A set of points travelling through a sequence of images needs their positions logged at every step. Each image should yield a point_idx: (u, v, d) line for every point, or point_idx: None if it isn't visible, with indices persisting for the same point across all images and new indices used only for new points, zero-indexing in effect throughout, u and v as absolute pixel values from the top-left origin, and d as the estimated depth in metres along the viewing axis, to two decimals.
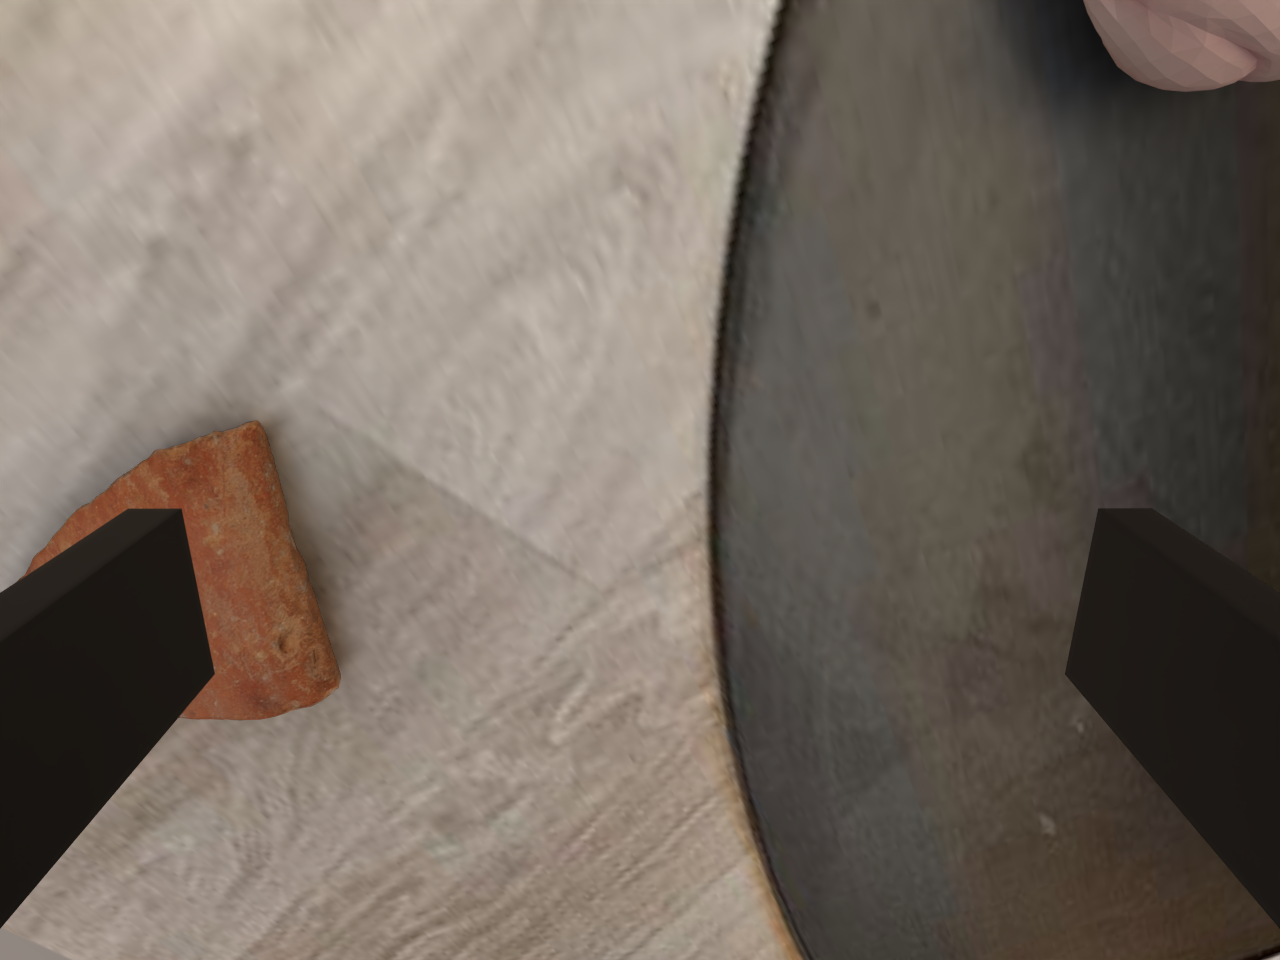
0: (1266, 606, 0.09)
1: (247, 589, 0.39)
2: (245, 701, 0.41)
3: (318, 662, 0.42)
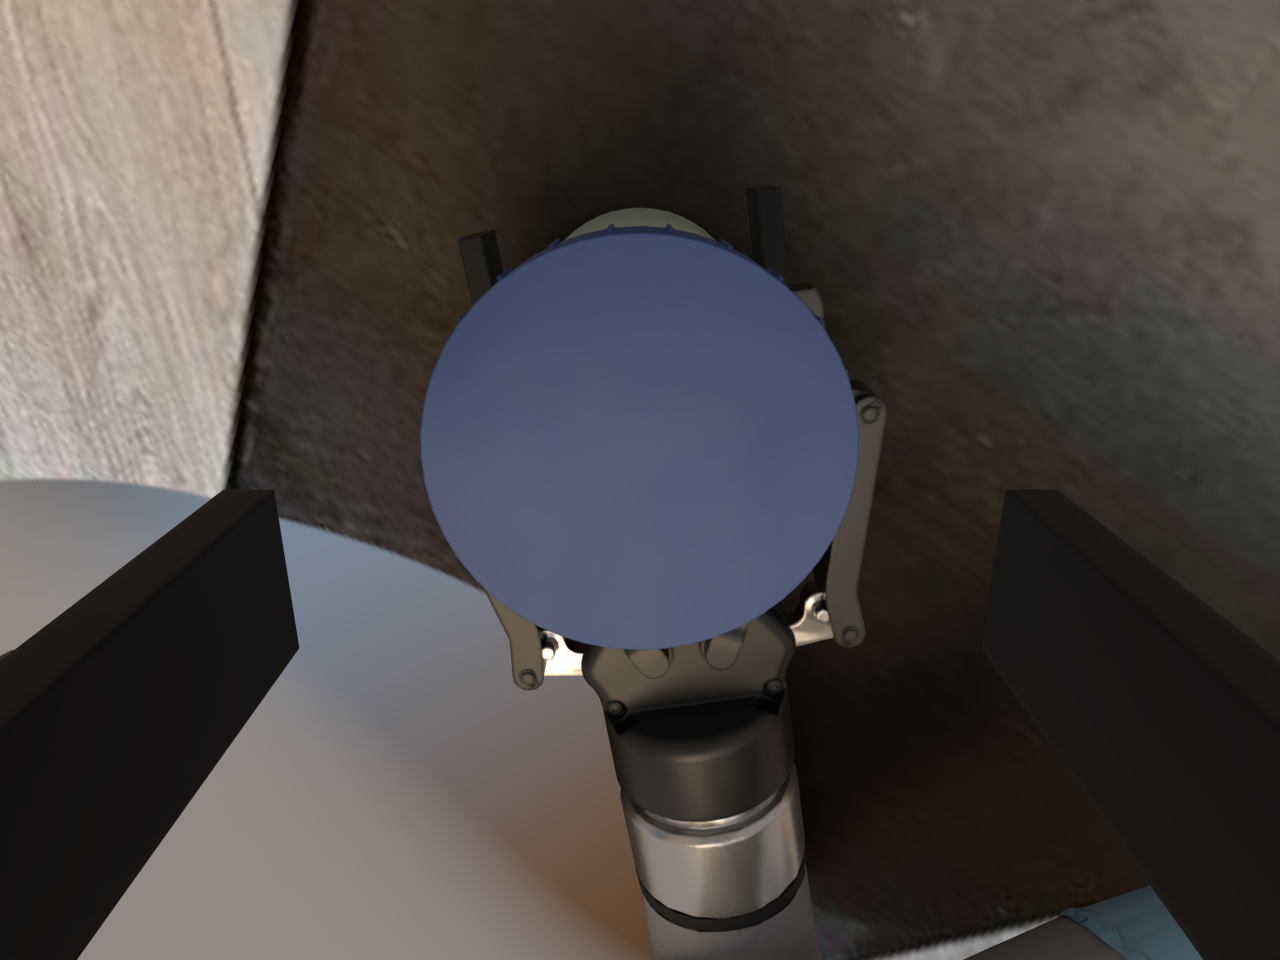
0: (1137, 575, 0.10)
1: None
2: None
3: None
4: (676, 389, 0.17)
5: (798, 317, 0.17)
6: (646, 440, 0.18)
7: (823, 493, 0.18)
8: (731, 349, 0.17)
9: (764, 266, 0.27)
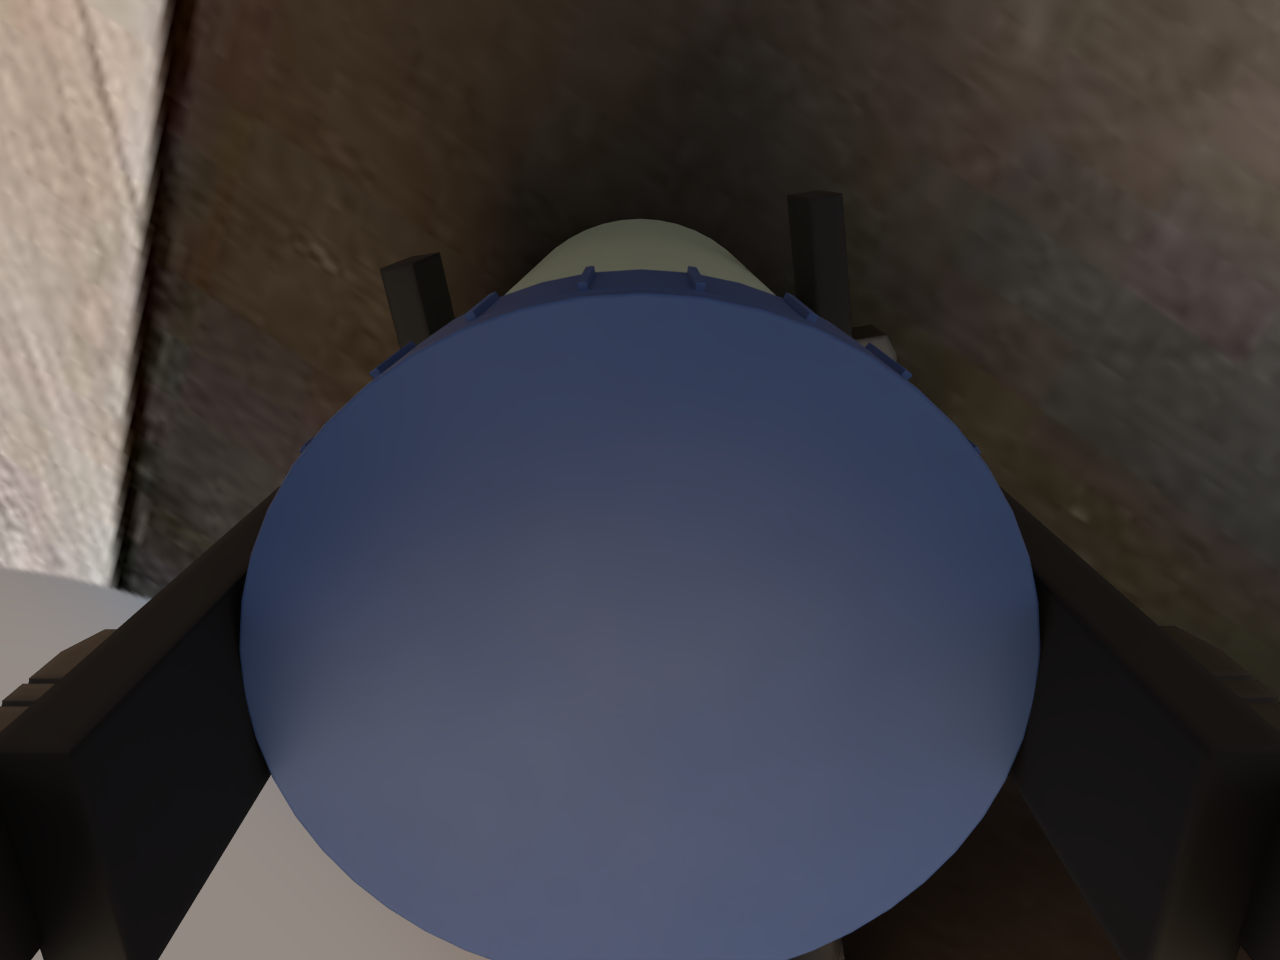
0: (1051, 558, 0.10)
1: None
2: None
3: None
4: (708, 577, 0.09)
5: (943, 451, 0.09)
6: (652, 662, 0.10)
7: (969, 749, 0.10)
8: (813, 507, 0.09)
9: (817, 306, 0.19)
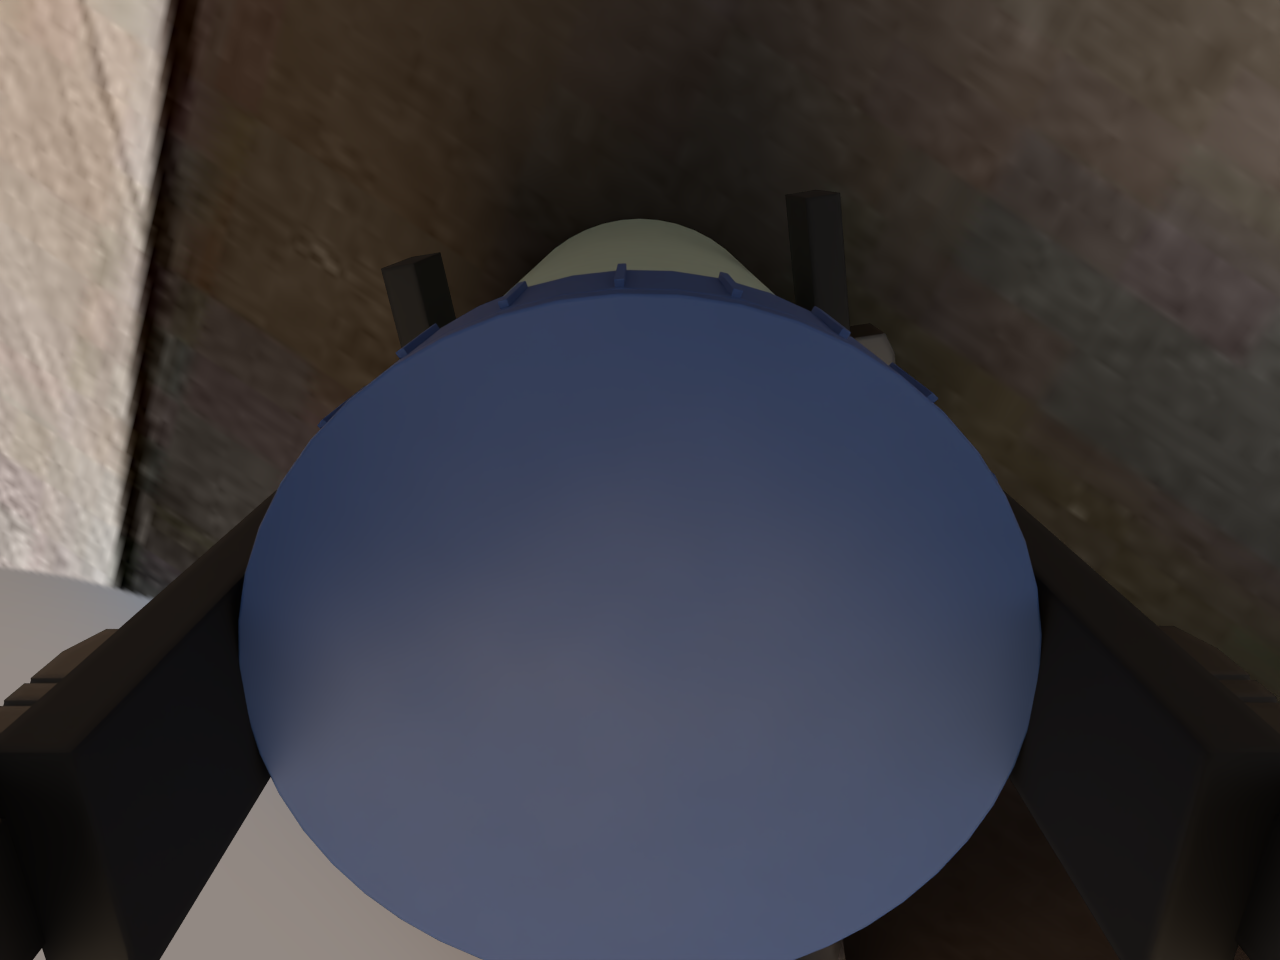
0: (1050, 558, 0.10)
1: None
2: None
3: None
4: (498, 727, 0.10)
5: (260, 662, 0.10)
6: (603, 709, 0.10)
7: (446, 406, 0.09)
8: (382, 705, 0.10)
9: (815, 305, 0.19)
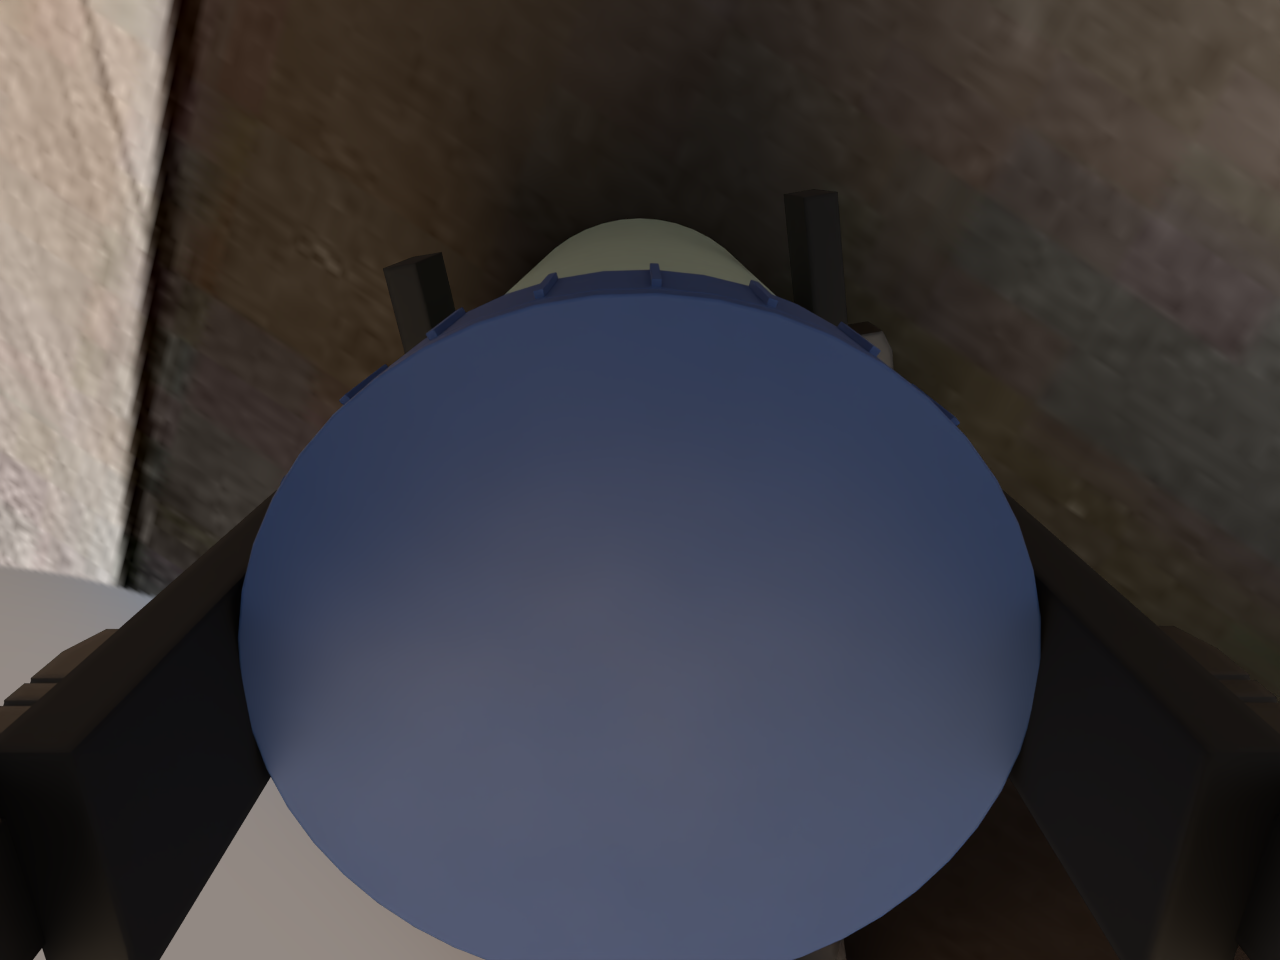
0: (1050, 558, 0.10)
1: None
2: None
3: None
4: (755, 767, 0.10)
5: (826, 931, 0.11)
6: (674, 711, 0.10)
7: (534, 940, 0.11)
8: (801, 847, 0.11)
9: (813, 303, 0.19)
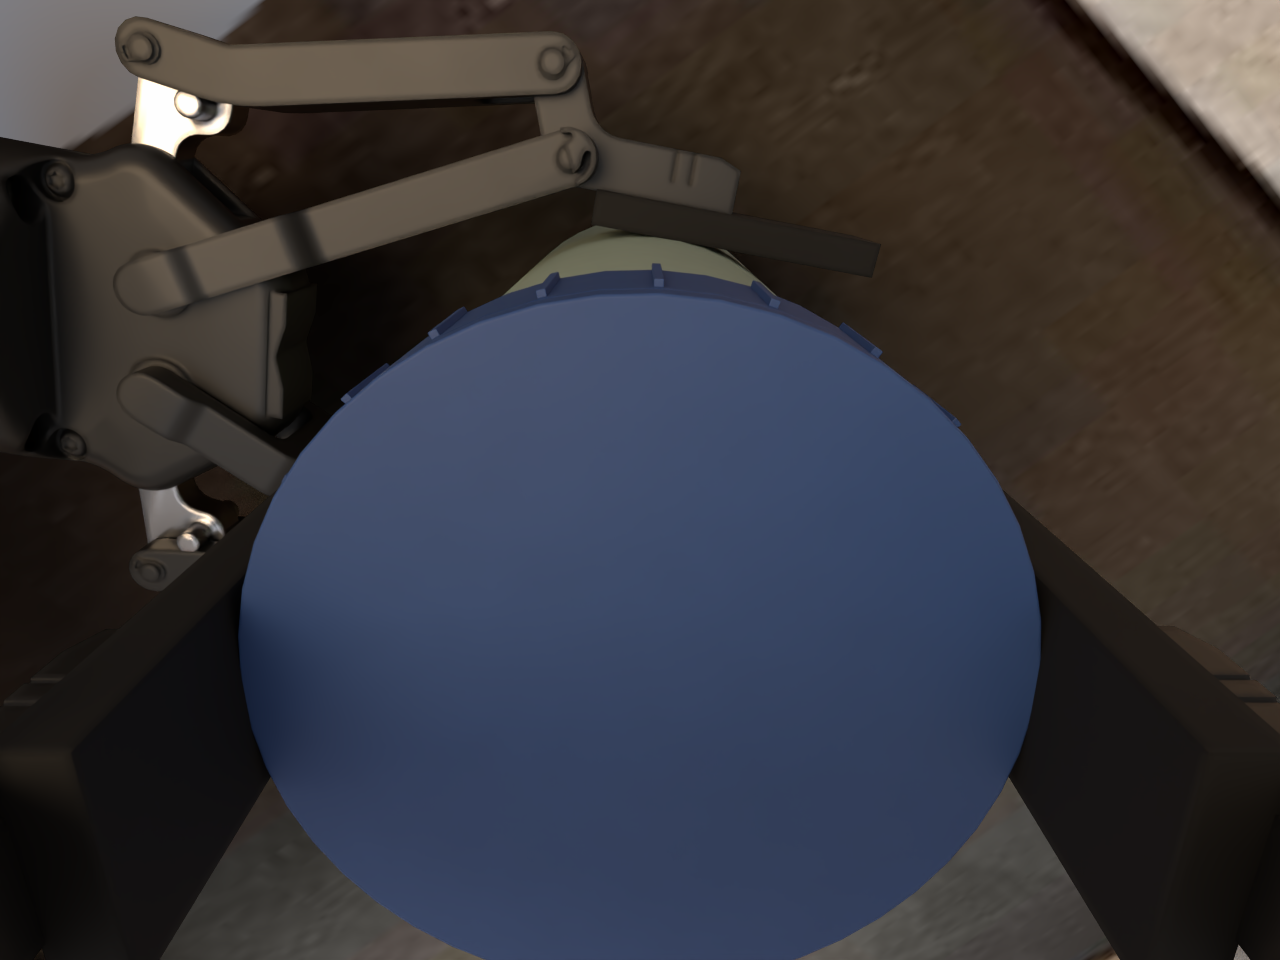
0: (1050, 558, 0.10)
1: None
2: None
3: None
4: (755, 768, 0.10)
5: (825, 932, 0.11)
6: (674, 711, 0.10)
7: (533, 939, 0.11)
8: (800, 847, 0.11)
9: None
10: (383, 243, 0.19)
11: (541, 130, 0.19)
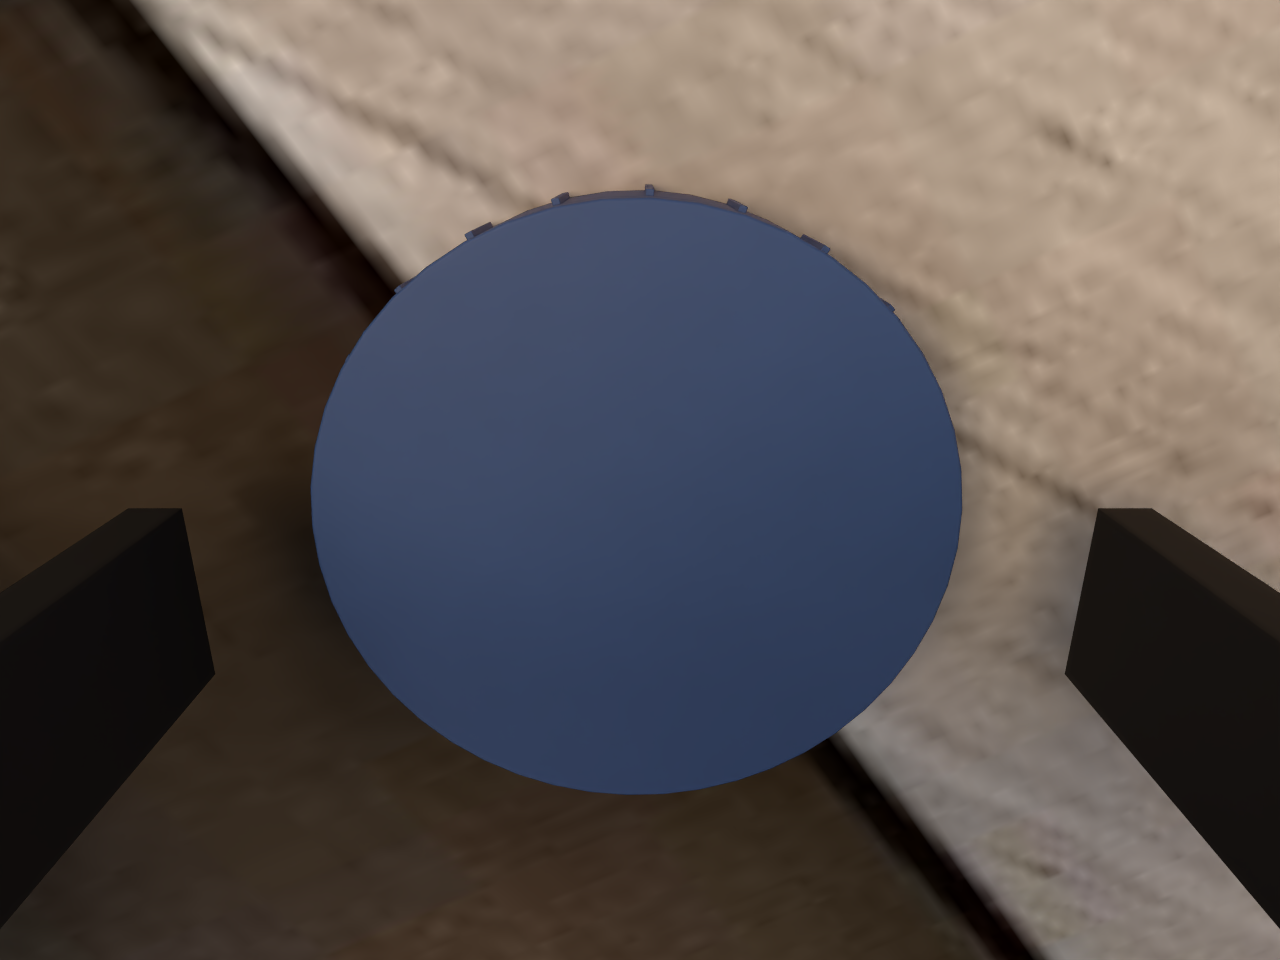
0: (1266, 606, 0.09)
1: None
2: None
3: None
4: (731, 600, 0.13)
5: (791, 745, 0.14)
6: (664, 551, 0.12)
7: (549, 752, 0.14)
8: (769, 670, 0.13)
9: None
10: None
11: None
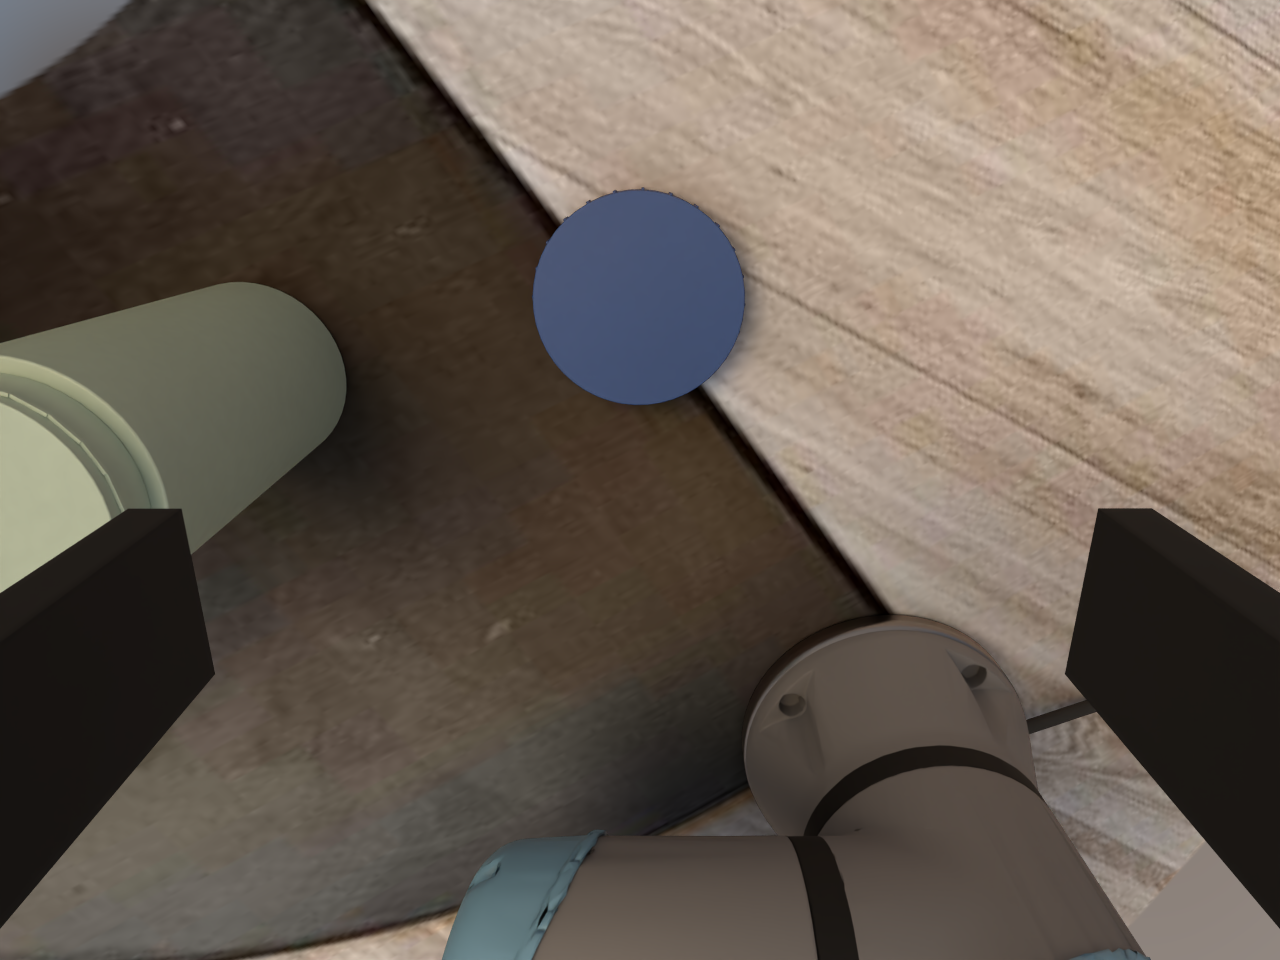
0: (1266, 606, 0.09)
1: None
2: None
3: None
4: (670, 325, 0.38)
5: (693, 383, 0.38)
6: (648, 307, 0.37)
7: (608, 386, 0.39)
8: (684, 352, 0.38)
9: None
10: None
11: None
